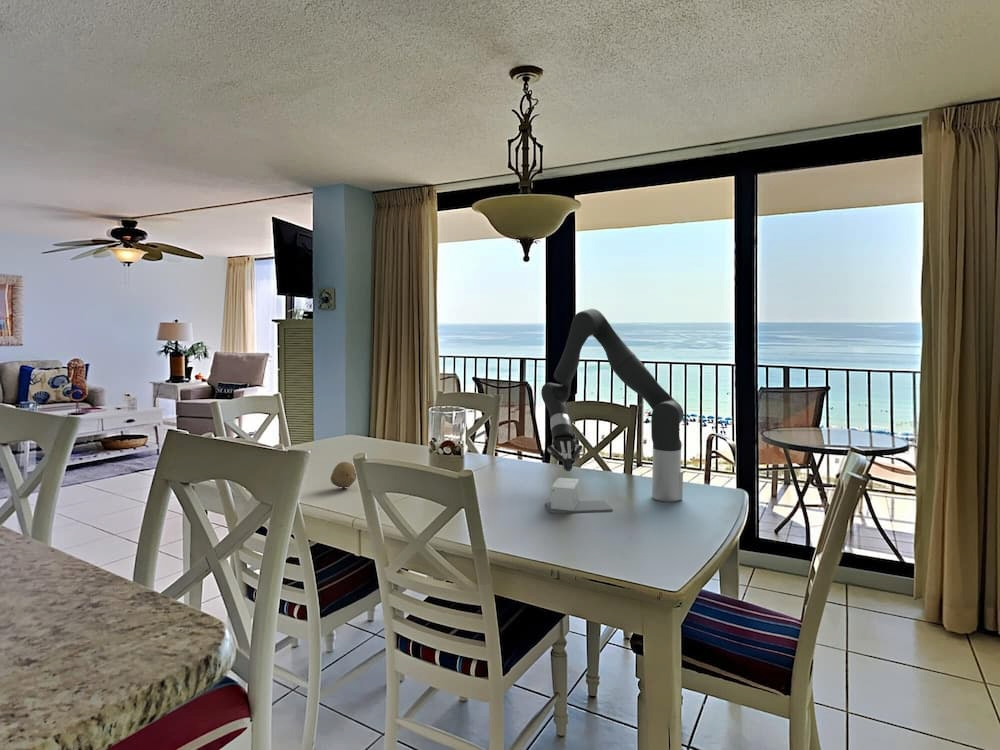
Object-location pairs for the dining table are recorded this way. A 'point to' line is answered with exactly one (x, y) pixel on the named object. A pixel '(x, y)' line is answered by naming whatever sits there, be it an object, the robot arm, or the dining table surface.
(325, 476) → the dining table surface
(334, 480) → the natural sponge
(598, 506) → the mat
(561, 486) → the supplement box
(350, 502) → the dining table surface
